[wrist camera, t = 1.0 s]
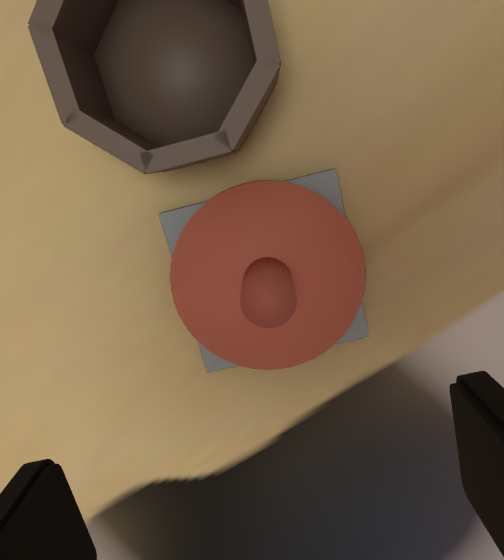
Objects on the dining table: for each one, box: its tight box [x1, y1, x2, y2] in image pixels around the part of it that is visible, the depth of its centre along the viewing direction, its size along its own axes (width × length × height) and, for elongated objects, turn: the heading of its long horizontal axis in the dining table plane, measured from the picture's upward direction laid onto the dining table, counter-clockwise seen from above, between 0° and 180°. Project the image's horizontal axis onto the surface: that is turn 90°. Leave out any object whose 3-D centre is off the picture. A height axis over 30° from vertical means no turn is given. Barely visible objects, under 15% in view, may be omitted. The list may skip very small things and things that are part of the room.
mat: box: [159, 168, 369, 373], centre depth 28 cm, size 11×11×1 cm
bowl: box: [28, 0, 281, 174], centre depth 22 cm, size 10×10×6 cm
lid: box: [170, 180, 366, 369], centre depth 25 cm, size 12×12×5 cm
